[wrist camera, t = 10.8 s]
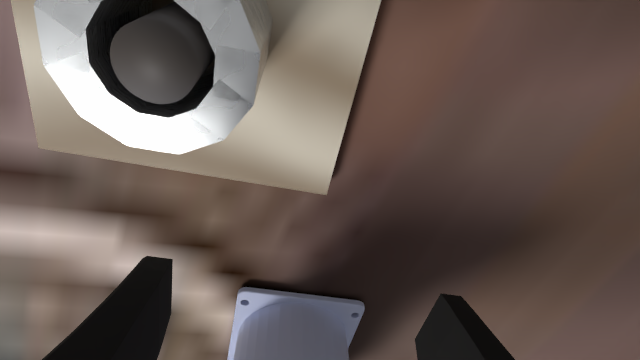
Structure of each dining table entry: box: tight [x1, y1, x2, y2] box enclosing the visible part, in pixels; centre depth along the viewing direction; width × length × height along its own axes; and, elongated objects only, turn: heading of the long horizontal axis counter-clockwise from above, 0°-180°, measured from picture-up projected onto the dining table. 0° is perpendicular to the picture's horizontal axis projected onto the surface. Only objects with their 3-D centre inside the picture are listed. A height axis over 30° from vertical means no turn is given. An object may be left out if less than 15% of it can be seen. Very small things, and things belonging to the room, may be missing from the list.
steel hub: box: [34, 0, 273, 154], centre depth 12 cm, size 6×6×5 cm
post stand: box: [11, 0, 381, 195], centre depth 13 cm, size 13×13×6 cm
